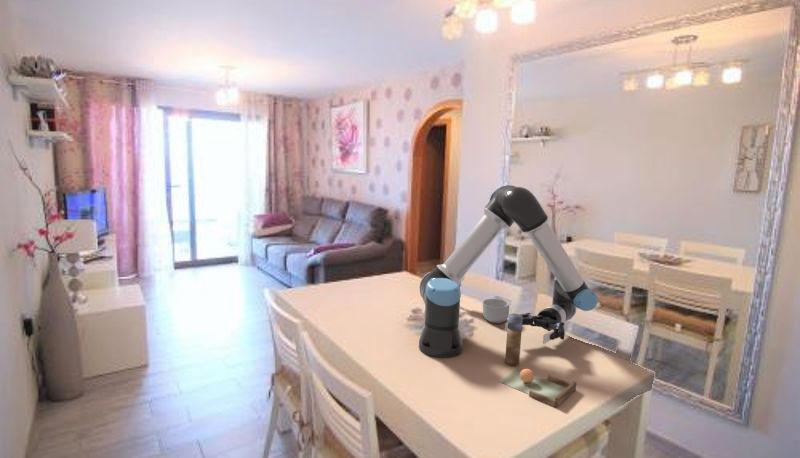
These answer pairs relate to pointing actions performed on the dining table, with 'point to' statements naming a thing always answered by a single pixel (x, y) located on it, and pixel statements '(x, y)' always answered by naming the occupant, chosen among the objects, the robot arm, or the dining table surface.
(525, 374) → the ball
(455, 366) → the dining table surface
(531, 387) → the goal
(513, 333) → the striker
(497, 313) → the teacup
